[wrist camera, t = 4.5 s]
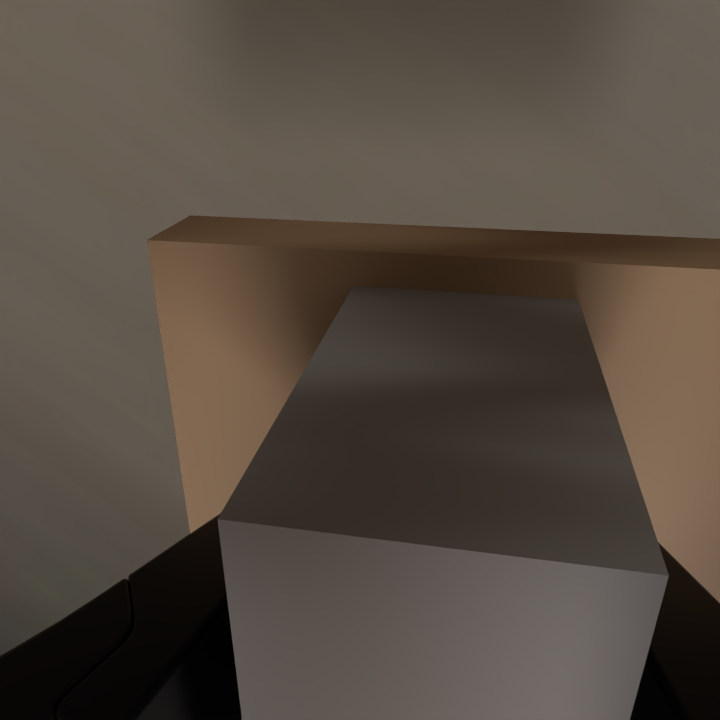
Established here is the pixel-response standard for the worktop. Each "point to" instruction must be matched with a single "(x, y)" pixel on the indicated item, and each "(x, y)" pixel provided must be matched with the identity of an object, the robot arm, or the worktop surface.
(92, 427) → the worktop surface
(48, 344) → the worktop surface
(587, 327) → the block
